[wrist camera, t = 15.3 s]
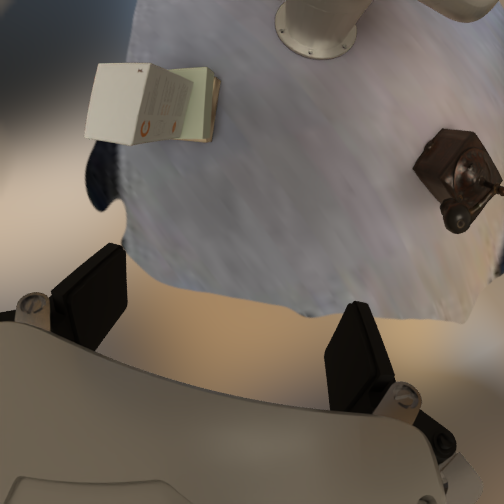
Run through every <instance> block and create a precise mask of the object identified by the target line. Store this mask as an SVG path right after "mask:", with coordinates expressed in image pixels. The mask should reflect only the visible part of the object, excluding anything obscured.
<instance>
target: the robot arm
mask: <svg viewBox="0 0 504 504" xmlns="http://www.w3.org/2000/svg"><path fill="white" fill-rule="evenodd" d="M372 1H373V0H286V2H284V3H283V4H282V5H281V6H280V8H279V9H278V11H277V14H276V17H275V27H276V32H277V34H278V36H279V38H280V39H281V41H282V42H283V43H284V44H285V45H286V46H287V47H288V48H289V49H290V50H292V51H293V52H295V53H297V54H299V55H301V56H303V57H307V58H310V59H316V60H328V59H333V58H336V57H339V56H341V55H343V54H344V53H346V52H347V51H348V50H349V49H350V48H351V47H352V45H353V44H354V42H355V40H356V35H357V27H356V22H357V21H358V20H359V18H360V17H361V16H362V14H363V13H364V12H365V10H366V9H367V8H368V6H369V5H370V4H371V2H372ZM418 1H419V2H421V3H423V4H425V5H426V6H428V7H430V8H432V9H433V10H435V11H437V12H438V13H440V14H442V15H443V16H445V17H447V18H449V19H452V20H454V21H457V22H462V23H470V22H474V21H477V20H479V19H481V18H482V17H484V16H485V15H486V14H487V13H488V12H489V11H490V10H491V9H492V8H493V7H494V6H495V5H496V3H497V2H498V1H499V0H418ZM281 32H284V33H281ZM342 47H344V48H345V49H343V48H342ZM308 53H311V54H312V55H309V54H308ZM126 281H127V280H126V251H125V250H123V247H122V246H121V245H117V244H113V243H108V244H107V245H106V246H104V247H103V248H102V249H100V250H99V251H98V252H97V253H95V254H94V255H93V256H92V257H90V258H89V259H88V260H87V261H86V262H84V263H83V264H82V265H80V266H79V267H78V268H77V269H76V270H75V271H73V272H72V273H71V274H70V275H69V276H67V278H65V279H64V280H63V281H62V282H60V283H59V284H58V285H57V286H56V287H55V288H54V289H53V290H52V291H51V294H52V295H51V296H50V297H49V298H48V297H47V295H45V294H43V293H39V292H33V293H29V294H27V295H25V296H23V297H22V298H21V299H20V300H19V301H18V303H17V306H16V310H12V311H6V312H1V313H0V504H475V503H476V501H477V500H478V499H479V497H480V496H481V494H482V491H483V482H482V480H481V478H480V476H479V475H478V474H477V473H476V471H475V470H474V469H473V468H472V466H471V465H470V464H469V462H468V461H467V460H466V459H465V458H464V456H463V455H462V454H461V453H460V452H458V453H456V452H455V451H456V440H455V437H454V436H453V434H452V433H451V432H450V431H449V430H447V429H446V428H445V427H443V426H442V425H441V424H439V423H438V422H437V421H435V420H434V419H433V418H431V417H430V416H428V415H427V414H426V413H424V412H423V411H422V410H420V408H421V405H422V398H421V395H420V393H419V392H418V390H417V389H416V388H415V387H414V386H412V385H411V384H409V383H406V382H396V381H395V378H394V376H395V374H394V371H393V368H392V366H391V363H390V360H389V357H388V354H387V351H386V349H385V346H384V343H383V341H382V338H381V335H380V333H379V330H378V328H377V325H376V323H375V320H374V317H373V315H372V313H371V310H370V308H369V305H368V304H367V303H364V302H359V301H354V302H353V303H352V304H351V303H349V304H348V305H347V307H346V309H345V312H344V314H343V316H342V318H341V320H340V322H339V324H338V326H337V328H336V331H335V332H334V334H333V337H332V338H331V341H330V342H329V344H328V346H327V348H326V350H325V354H324V361H325V369H326V377H327V386H328V394H329V404H330V410H320V409H313V408H304V407H297V406H289V405H282V404H276V403H270V402H264V401H259V400H253V399H248V398H243V397H239V396H234V395H229V394H225V393H220V392H216V391H212V390H208V389H204V388H200V387H196V386H192V385H189V384H186V383H182V382H179V381H175V380H172V379H169V378H165V377H162V376H159V375H156V374H153V373H150V372H147V371H144V370H141V369H139V368H136V367H133V366H130V365H127V364H125V363H122V362H120V361H117V360H114V359H112V358H109V357H107V356H104V355H102V354H100V353H97V352H95V350H96V349H97V348H98V346H99V345H100V343H101V342H102V341H103V339H104V338H105V336H106V335H107V334H108V332H109V331H110V329H111V328H112V327H113V326H114V324H115V323H116V321H117V320H118V319H119V317H120V316H121V315H122V313H123V312H124V311H125V309H126V307H127V302H128V300H127V282H126Z"/></svg>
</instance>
